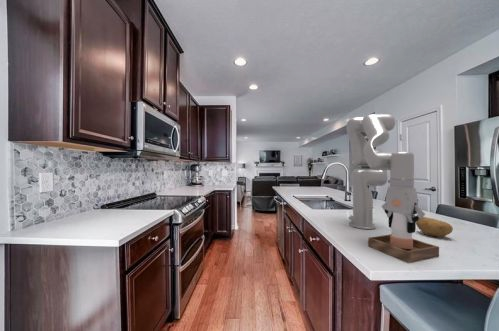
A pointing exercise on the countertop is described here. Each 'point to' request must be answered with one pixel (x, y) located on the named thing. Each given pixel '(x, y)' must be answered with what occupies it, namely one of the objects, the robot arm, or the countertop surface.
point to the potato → (434, 227)
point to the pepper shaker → (400, 229)
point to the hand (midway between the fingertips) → (401, 229)
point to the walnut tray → (407, 255)
